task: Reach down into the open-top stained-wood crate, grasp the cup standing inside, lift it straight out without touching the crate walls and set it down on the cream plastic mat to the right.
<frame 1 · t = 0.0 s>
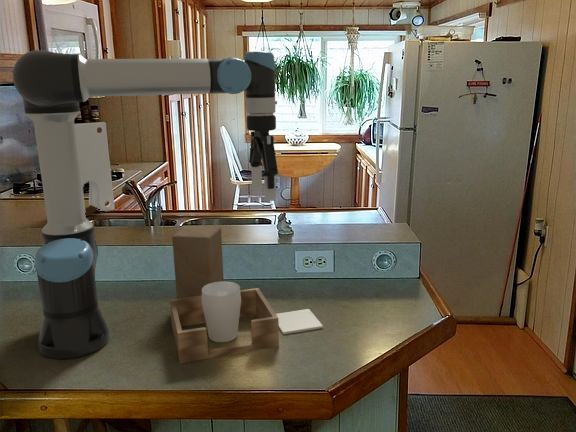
hand: (263, 195, 140), 28 cm above the counter, fingers open, 13 cm apart
mat: (296, 322, 129), on the counter
wooden block: (201, 302, 142), on the counter
cup: (223, 336, 123), resting in crate
crate: (223, 335, 123), on the counter
light grey piece: (87, 211, 241), on the counter
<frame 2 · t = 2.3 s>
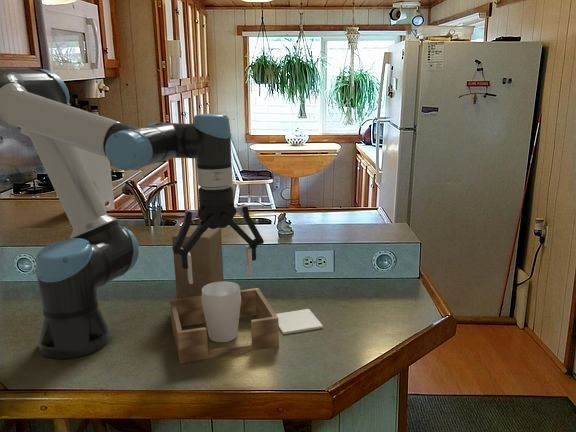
hand: (220, 277, 119), 15 cm above the counter, fingers open, 13 cm apart
nothing on the counter moved.
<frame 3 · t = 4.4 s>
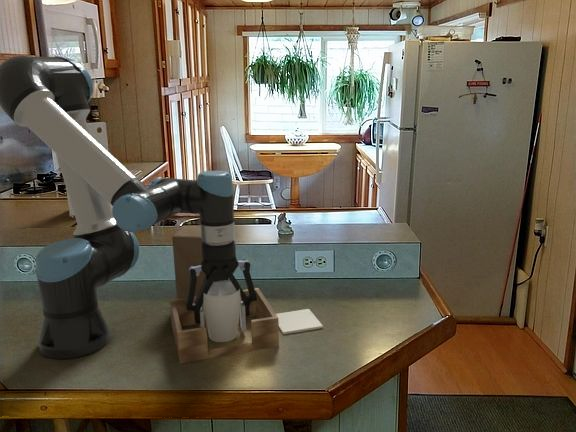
hand: (223, 332, 123), 1 cm above the counter, fingers closed on cup, 9 cm apart
cup: (223, 336, 123), resting in crate, touching gripper
everything else where it was.
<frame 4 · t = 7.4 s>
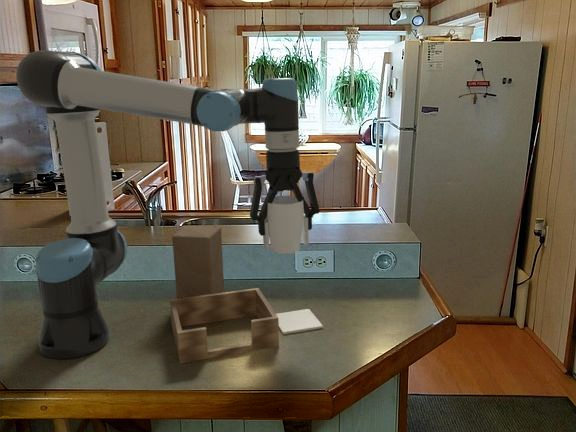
hand: (286, 245, 123), 20 cm above the counter, fingers closed on cup, 9 cm apart
cup: (285, 250, 123), point 19 cm above the counter, touching gripper
everything else where it was.
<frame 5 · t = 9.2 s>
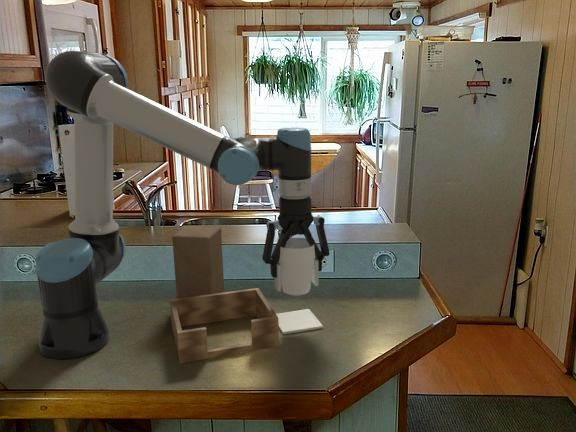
hand: (296, 286, 127), 9 cm above the counter, fingers closed on cup, 9 cm apart
cup: (296, 291, 127), point 8 cm above the counter, touching gripper
everything else where it was.
when the fingers open (3 cm above the counter, at t = 10.7 s): cup drops 1 cm, resting on mat.
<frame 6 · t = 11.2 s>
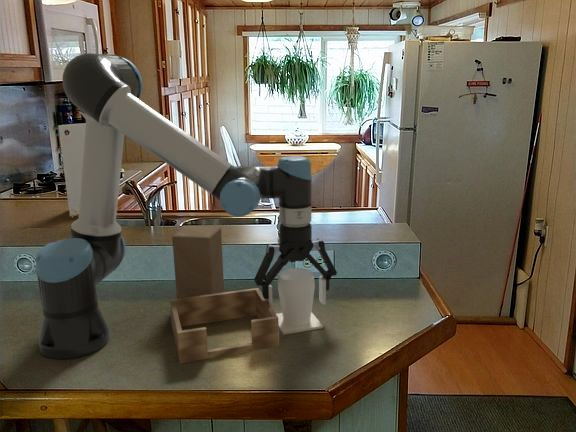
hand: (296, 306, 128), 4 cm above the counter, fingers open, 13 cm apart
cup: (296, 320, 129), resting on mat
everything else where it was.
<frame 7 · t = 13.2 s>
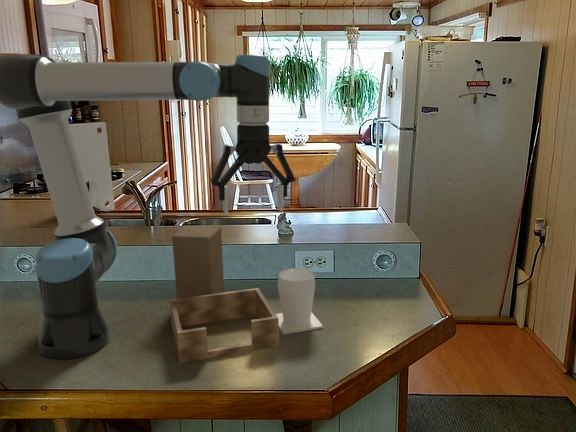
hand: (253, 211, 128), 27 cm above the counter, fingers open, 13 cm apart
nothing on the counter moved.
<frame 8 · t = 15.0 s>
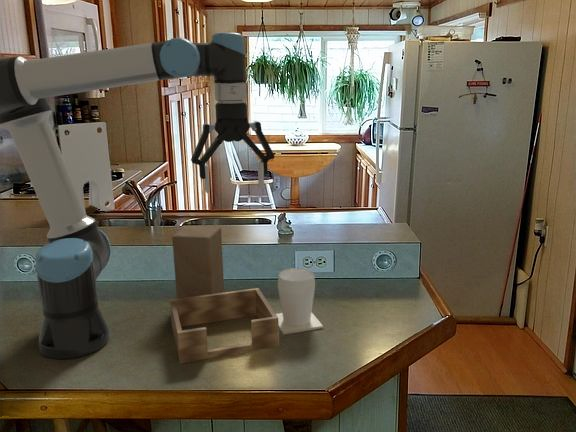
hand: (234, 189, 130), 32 cm above the counter, fingers open, 13 cm apart
nothing on the counter moved.
at the end: cup inside the target area on the mat (0.1 cm from its centre), point 0.4 cm above the mat's base; cup tilted 0°; cup touching mat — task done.
